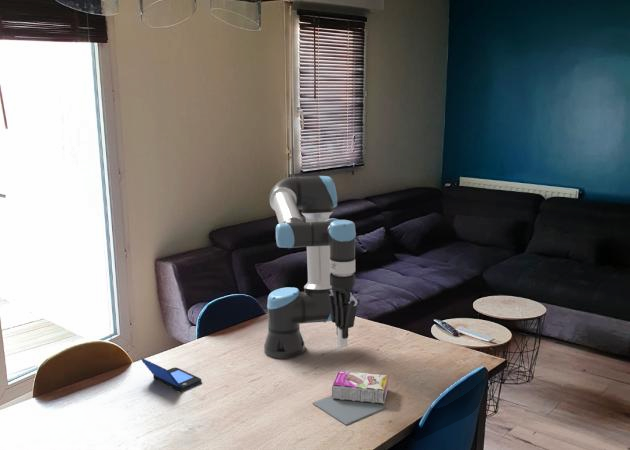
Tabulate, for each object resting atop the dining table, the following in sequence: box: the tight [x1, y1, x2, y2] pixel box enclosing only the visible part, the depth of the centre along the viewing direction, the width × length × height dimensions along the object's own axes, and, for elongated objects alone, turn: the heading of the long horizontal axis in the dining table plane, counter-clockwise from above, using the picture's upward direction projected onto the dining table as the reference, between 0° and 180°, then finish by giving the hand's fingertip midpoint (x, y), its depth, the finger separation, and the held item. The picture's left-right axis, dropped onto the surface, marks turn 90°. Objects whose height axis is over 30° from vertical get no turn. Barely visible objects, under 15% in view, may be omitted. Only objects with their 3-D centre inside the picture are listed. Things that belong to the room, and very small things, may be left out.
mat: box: [312, 395, 387, 426], centre depth 186 cm, size 16×16×1 cm
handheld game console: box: [141, 358, 202, 393], centre depth 202 cm, size 16×13×9 cm
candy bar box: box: [331, 370, 390, 405], centre depth 192 cm, size 11×5×16 cm
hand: (342, 346), depth 185 cm, fingers closed
